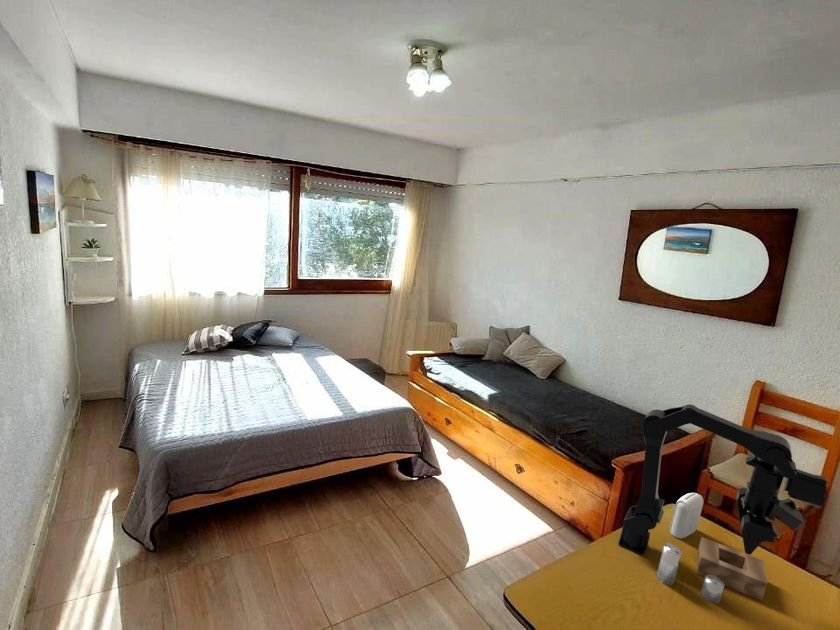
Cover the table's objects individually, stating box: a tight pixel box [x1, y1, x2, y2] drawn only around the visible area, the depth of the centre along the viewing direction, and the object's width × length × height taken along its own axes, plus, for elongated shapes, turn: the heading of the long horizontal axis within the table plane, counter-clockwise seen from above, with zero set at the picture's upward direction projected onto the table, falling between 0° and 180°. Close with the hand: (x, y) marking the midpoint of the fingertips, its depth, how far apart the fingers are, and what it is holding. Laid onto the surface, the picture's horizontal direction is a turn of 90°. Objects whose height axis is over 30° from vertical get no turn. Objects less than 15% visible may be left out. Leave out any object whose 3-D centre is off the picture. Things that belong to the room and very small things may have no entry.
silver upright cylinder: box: [656, 542, 682, 586], centre depth 114 cm, size 4×4×9 cm
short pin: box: [700, 575, 725, 604], centre depth 111 cm, size 4×4×4 cm
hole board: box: [696, 536, 768, 602], centre depth 119 cm, size 14×10×5 cm
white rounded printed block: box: [669, 492, 704, 539], centre depth 134 cm, size 10×4×12 cm, turn 123°
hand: (745, 543), depth 111 cm, fingers open, 9 cm apart
